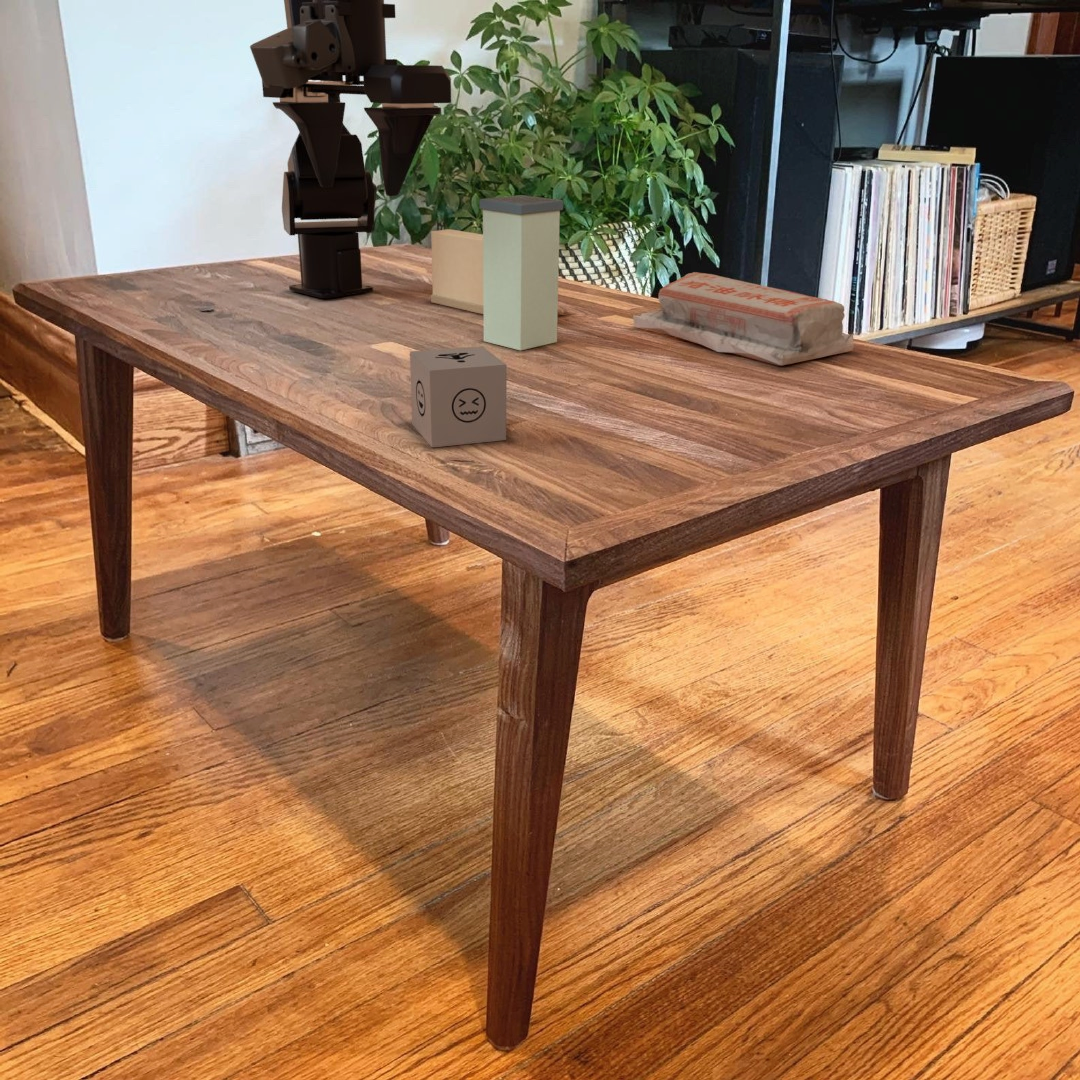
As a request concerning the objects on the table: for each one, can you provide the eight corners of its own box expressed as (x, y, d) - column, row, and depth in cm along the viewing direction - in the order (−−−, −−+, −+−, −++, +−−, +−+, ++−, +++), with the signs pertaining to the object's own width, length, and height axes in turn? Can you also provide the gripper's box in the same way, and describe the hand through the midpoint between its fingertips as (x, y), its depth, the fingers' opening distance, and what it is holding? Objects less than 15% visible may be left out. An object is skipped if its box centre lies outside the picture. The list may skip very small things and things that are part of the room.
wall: (430, 302, 109) (428, 231, 107) (466, 295, 113) (466, 227, 110) (521, 323, 101) (522, 247, 98) (557, 315, 105) (559, 241, 102)
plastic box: (480, 341, 95) (479, 199, 90) (520, 332, 98) (521, 194, 93) (520, 351, 91) (521, 204, 87) (560, 342, 95) (563, 200, 90)
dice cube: (482, 417, 74) (482, 346, 72) (506, 439, 70) (506, 364, 68) (412, 424, 73) (409, 351, 71) (431, 447, 68) (429, 370, 66)
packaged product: (865, 296, 91) (788, 311, 85) (857, 353, 93) (781, 370, 87) (709, 265, 104) (633, 276, 98) (705, 315, 106) (630, 328, 100)
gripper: (197, -13, 88) (218, 188, 94) (336, -22, 76) (349, 208, 82) (311, -5, 95) (323, 180, 101) (454, -13, 83) (457, 198, 90)
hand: (358, 191), depth 93 cm, fingers open, 9 cm apart
